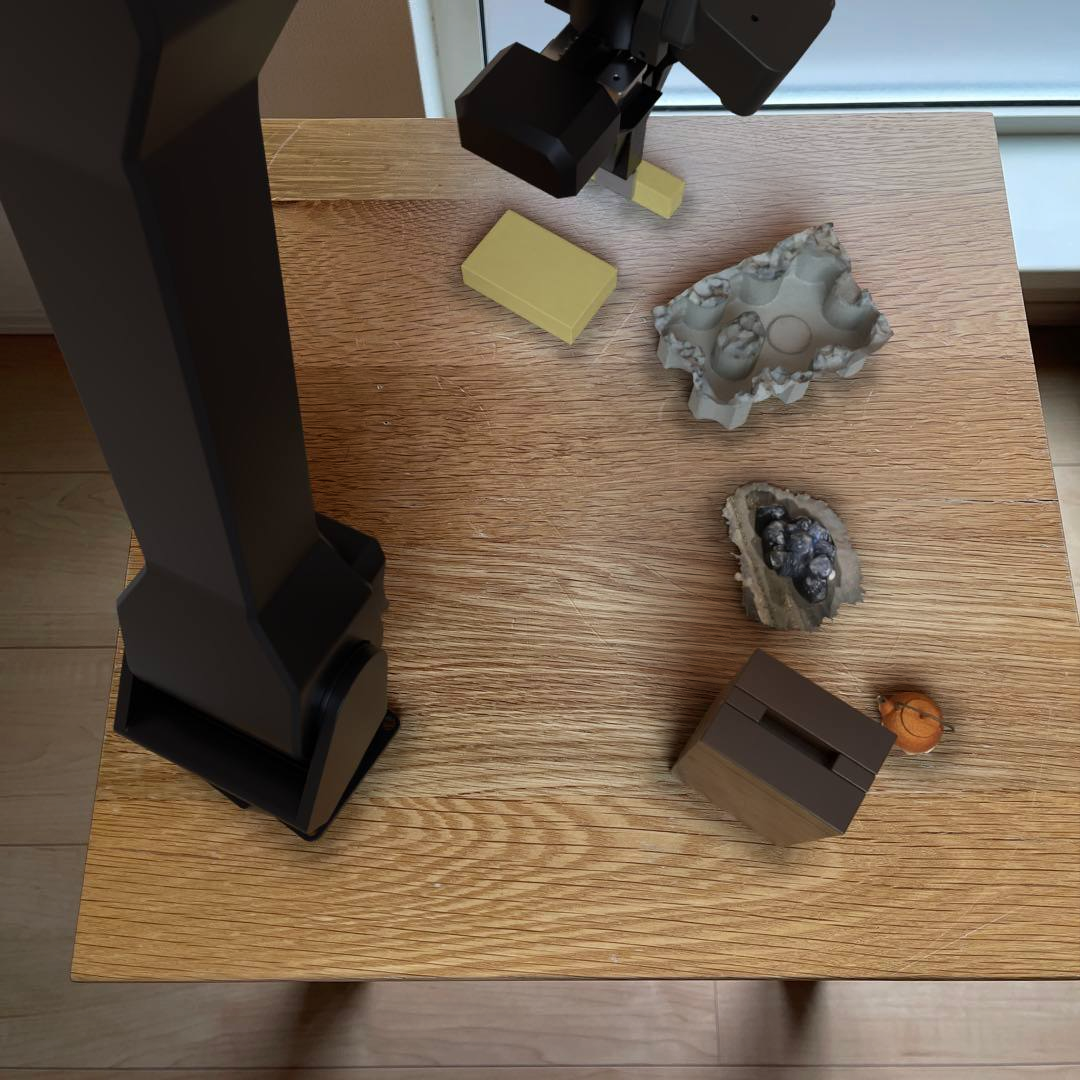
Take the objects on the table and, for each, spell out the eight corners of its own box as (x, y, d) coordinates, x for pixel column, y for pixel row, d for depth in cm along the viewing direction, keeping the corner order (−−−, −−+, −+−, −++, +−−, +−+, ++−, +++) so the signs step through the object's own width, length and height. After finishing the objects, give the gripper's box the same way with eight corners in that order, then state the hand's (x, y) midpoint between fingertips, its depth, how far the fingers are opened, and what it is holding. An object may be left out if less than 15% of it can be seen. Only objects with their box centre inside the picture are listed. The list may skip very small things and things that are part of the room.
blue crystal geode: (773, 660, 43) (783, 650, 42) (677, 522, 46) (682, 507, 44) (890, 588, 45) (904, 575, 43) (790, 456, 47) (799, 439, 45)
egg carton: (817, 263, 51) (839, 212, 47) (887, 375, 49) (916, 331, 45) (637, 328, 50) (645, 281, 46) (699, 447, 47) (712, 407, 43)
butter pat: (668, 220, 52) (671, 199, 51) (562, 164, 54) (563, 143, 52) (682, 202, 53) (686, 181, 51) (577, 147, 54) (578, 125, 53)
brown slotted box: (779, 848, 41) (844, 835, 31) (668, 773, 42) (699, 740, 33) (824, 769, 42) (899, 735, 33) (714, 698, 43) (757, 646, 34)
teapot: (898, 766, 42) (919, 758, 39) (864, 703, 43) (883, 691, 40) (955, 740, 42) (980, 731, 40) (920, 679, 43) (942, 666, 41)
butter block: (571, 345, 50) (571, 328, 48) (463, 283, 51) (460, 265, 49) (616, 286, 51) (618, 268, 49) (509, 227, 52) (508, 208, 51)
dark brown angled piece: (624, 208, 52) (637, 91, 44) (588, 189, 52) (595, 70, 45) (640, 189, 52) (655, 70, 45) (604, 170, 53) (613, 49, 45)
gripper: (696, 101, 31) (651, 354, 46) (947, -211, 36) (835, 105, 51) (426, -33, 34) (466, 249, 48) (698, -308, 39) (659, 21, 53)
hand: (616, 154), depth 50 cm, fingers closed on dark brown angled piece, 2 cm apart
